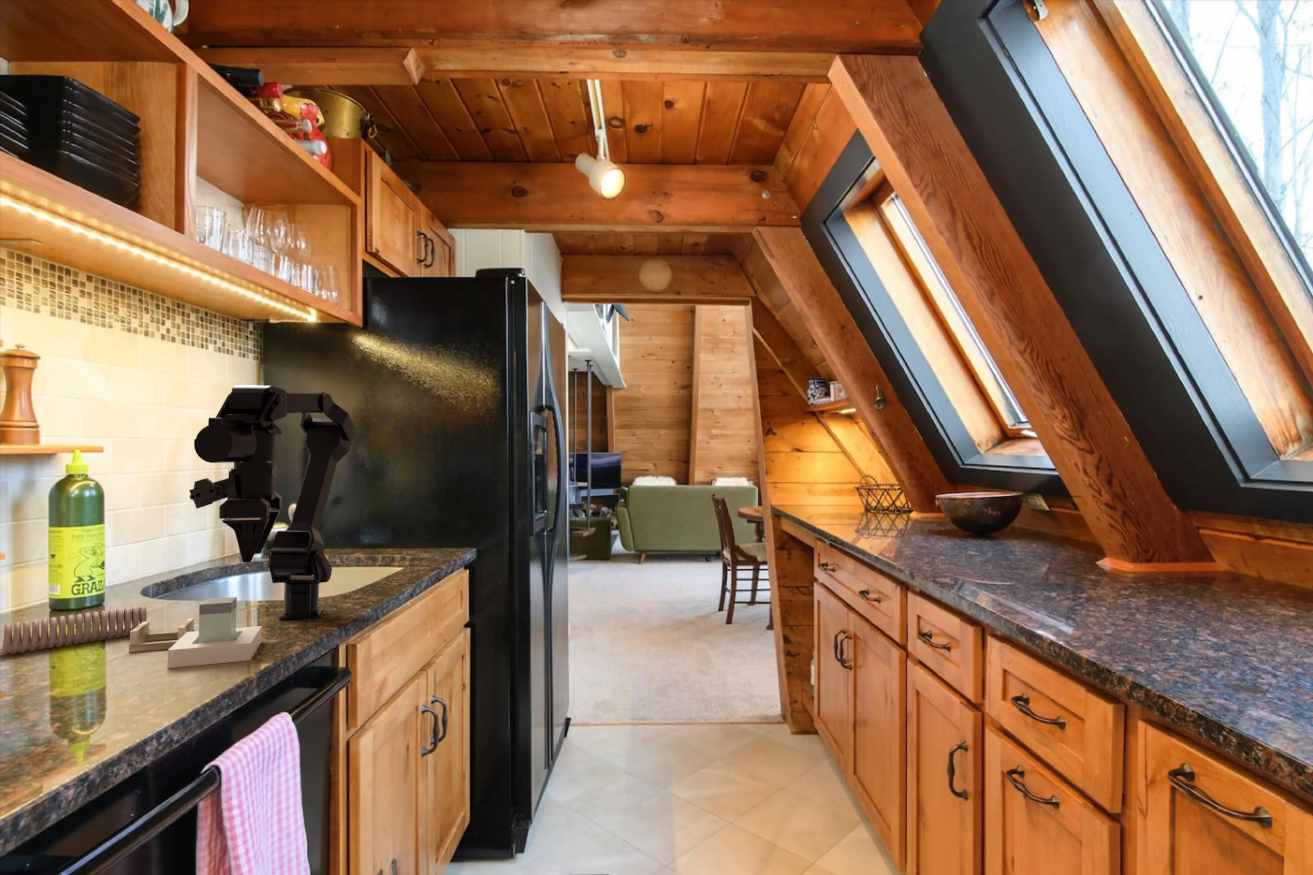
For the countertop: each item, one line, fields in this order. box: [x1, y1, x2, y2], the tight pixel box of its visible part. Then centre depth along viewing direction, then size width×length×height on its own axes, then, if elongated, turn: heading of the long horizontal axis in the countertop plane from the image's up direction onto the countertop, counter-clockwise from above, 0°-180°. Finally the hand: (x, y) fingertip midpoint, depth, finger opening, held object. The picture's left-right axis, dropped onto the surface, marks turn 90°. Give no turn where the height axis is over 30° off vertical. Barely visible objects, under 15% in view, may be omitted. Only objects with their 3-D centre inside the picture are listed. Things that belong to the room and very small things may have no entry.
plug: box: [198, 596, 238, 644], centre depth 100 cm, size 4×4×8 cm
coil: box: [0, 604, 148, 657], centre depth 105 cm, size 5×5×18 cm
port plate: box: [167, 625, 263, 669], centre depth 100 cm, size 10×10×2 cm
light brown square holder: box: [128, 617, 195, 653], centre depth 104 cm, size 7×7×3 cm
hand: (252, 557), depth 108 cm, fingers open, 9 cm apart
